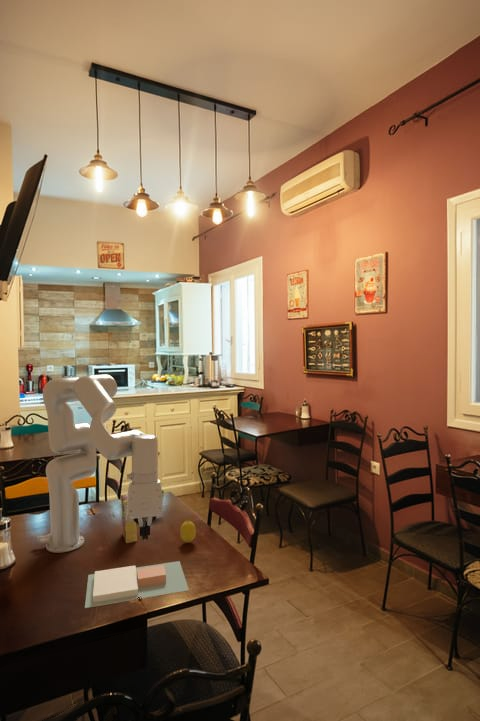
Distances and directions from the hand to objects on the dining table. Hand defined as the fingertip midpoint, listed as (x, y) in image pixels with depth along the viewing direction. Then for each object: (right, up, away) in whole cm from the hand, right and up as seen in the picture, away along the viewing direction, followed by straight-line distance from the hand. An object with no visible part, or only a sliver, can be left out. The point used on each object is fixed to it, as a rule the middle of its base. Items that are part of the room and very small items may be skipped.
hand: (144, 537), depth 129 cm
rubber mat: (-2, -13, -1) cm, 13 cm away
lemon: (+10, -13, +26) cm, 30 cm away
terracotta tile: (+2, -13, 0) cm, 13 cm away
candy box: (-12, -13, +30) cm, 35 cm away
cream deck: (-8, -13, -3) cm, 15 cm away
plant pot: (-8, -12, +55) cm, 57 cm away
